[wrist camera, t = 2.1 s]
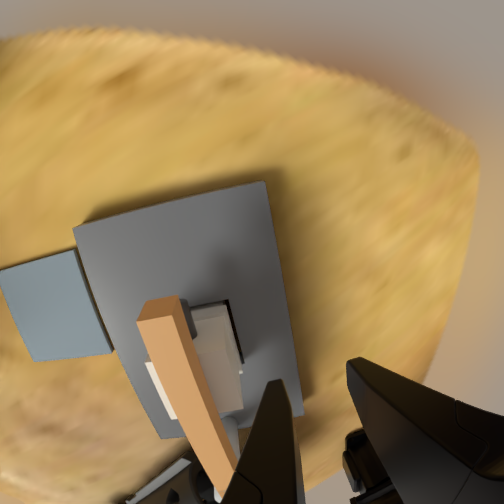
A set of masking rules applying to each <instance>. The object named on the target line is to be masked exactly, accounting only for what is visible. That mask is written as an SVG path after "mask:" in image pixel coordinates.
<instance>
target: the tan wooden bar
mask: <svg viewBox="0 0 504 504" xmlns="http://www.w3.org/2000/svg"><path fill="white" fill-rule="evenodd" d="M136 323H137V326H138V328H139V331H140V334H141V336H142V339H143V341H144V344H145V346H146V349H147V351H148V354H149V356H150V359H151V361H152V363H153V366H154V368H155V370H156V373H157V375H158V377H159V380H160V382H161V384H162V386H163V389H164V391H165V393H166V395H167V397H168V399H169V402H170V404H171V406H172V408H173V410H174V412H175V414H176V416H177V418H178V420H179V422H180V424H181V426H182V428H183V430H184V432H185V434H186V436H187V438H188V440H189V442H190V444H191V446H192V448H193V449H194V451H195V453H196V455H197V457H198V459H199V460H200V462H201V464H202V466H203V468H204V469H205V471H206V473H207V475H208V476H209V478H210V480H211V482H212V483H213V485H214V498H215V500H216V501H217V502H219V503H220V502H221V500H222V498H223V496H224V494H225V492H226V490H227V487H228V485H229V483H230V480H231V478H232V475H233V473H234V472H235V468H236V466H237V463H238V460H237V458H236V456H235V453H234V451H233V449H232V446H231V444H230V441H229V439H228V436H227V434H226V431H225V429H224V426H223V424H222V421H221V419H220V416H219V414H218V411H217V408H216V406H215V403H214V400H213V398H212V395H211V392H210V390H209V387H208V384H207V381H206V379H205V376H204V373H203V370H202V367H201V364H200V362H199V359H198V356H197V353H196V350H195V347H194V344H193V341H192V338H191V335H190V332H189V329H188V326H187V322H186V319H185V316H184V313H183V310H182V306H181V303H180V300H179V297H178V295H173V296H168V297H163V298H158V299H153V300H148V301H146V302H145V304H144V306H143V308H142V310H141V312H140V315H139V317H138V319H137V321H136Z"/></svg>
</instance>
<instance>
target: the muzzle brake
mask: <svg viewBox="0 0 504 504" xmlns="http://www.w3.org/2000/svg"><path fill="white" fill-rule="evenodd" d="M135 494H136V495H131V496H130V497H128V498H127V499H126V500H125V502H126V503H127V504H220V503H219V502H217V501H216V500H215V498H214V485H213V483H212V482H211V480H210V478H209V476H208V475H207V473H206V471H205V469H204V468H203V466H202V464H201V462H200V460H199V459H198V457H197V455H196V454H194V453H192V452H189V451H187V452H185V453H184V454H183V455H182V456H181V457H179V458H178V459H177V460H176V461H175V462H173V463H172V464H171V465H170V466H168V467H167V468H166V469H165V470H163V471H162V472H161V473H160V474H158V475H157V476H156V477H155V478H153V479H152V480H151V481H149V482H148V483H147V484H145V485H144V486H143V487H142V488H140V489H139V490H138V491H137V492H136V493H135ZM202 499H205V500H204V502H203V500H202Z"/></svg>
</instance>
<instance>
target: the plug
mask: <svg viewBox="0 0 504 504" xmlns="http://www.w3.org/2000/svg"><path fill="white" fill-rule="evenodd" d="M179 300H180V303H181V306H182V310H183V313H184V316H185V319H186V322H187V326H188V329H189V332H190V335H191V338H192V341H193V344H194V347H195V350H196V353H197V356H198V359H199V362H200V364H201V367H202V370H203V373H204V376H205V379H206V381H207V384H208V387H209V390H210V392H211V395H212V398H213V400H214V403H215V406H216V408H217V411H218V413H223V412H229V411H234V410H240V409H243V400H242V392H241V383H240V374H242V373H243V370H242V363H241V360H240V356H239V352H238V349H237V345H236V341H235V337H234V333H233V330H232V326H231V322H230V318H229V314H228V310H227V306H226V305H225V301H224V300H221V301H216V302H211V303H206V304H202V305H197V306H192V307H189V304H188V301H187V300H186V299H179ZM145 365H146V367H147V369H148V371H149V374H150V376H151V378H152V380H153V383H154V385H155V387H156V389H157V391H158V393H159V396H160V398H161V400H162V402H163V404H164V406H165V408H166V410H167V412H168V414H169V416H170V418H171V420H173V419H178V418H177V416H176V414H175V412H174V410H173V408H172V406H171V404H170V402H169V399H168V397H167V395H166V393H165V391H164V389H163V386H162V384H161V382H160V380H159V377H158V375H157V373H156V370H155V368H154V366H153V363H152V361H151V359H150V356H149V354H147V357H146V360H145Z"/></svg>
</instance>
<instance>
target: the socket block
mask: <svg viewBox="0 0 504 504" xmlns="http://www.w3.org/2000/svg"><path fill="white" fill-rule="evenodd" d="M72 229H73V233H74V236H75V240H76V243H77V246H78V250H79V253H80V256H81V259H82V263H83V266H84V269H85V272H86V275H87V278H88V281H89V284H90V286H91V289H92V292H93V295H94V298H95V300H96V303H97V306H98V308H99V311H100V313H101V316H102V319H103V321H104V324H105V326H106V329H107V331H108V333H109V336H110V338H111V341H112V343H113V345H114V347H115V350H116V352H117V354H118V357H119V359H120V361H121V363H122V365H123V367H124V370H125V372H126V374H127V376H128V378H129V380H130V382H131V384H132V386H133V388H134V390H135V392H136V394H137V396H138V398H139V400H140V402H141V404H142V406H143V408H144V410H145V411H146V413H147V415H148V417H149V419H150V421H151V422H152V424H153V426H154V428H155V430H156V431H157V433H158V435H159V437H160V438H161V439H169V438H179V437H187V436H186V434H185V432H184V430H183V428H182V426H181V424H180V422H179V420H178V419H173V420H171V418H170V416H169V414H168V412H167V410H166V408H165V406H164V404H163V402H162V400H161V398H160V396H159V393H158V391H157V389H156V387H155V385H154V383H153V380H152V378H151V376H150V374H149V371H148V369H147V367H146V365H145V360H146V357H147V354H148V351H147V349H146V346H145V344H144V341H143V339H142V336H141V334H140V331H139V328H138V326H137V323H136V321H137V319H138V317H139V315H140V312H141V310H142V308H143V306H144V304H145V302H146V301H148V300H153V299H158V298H163V297H168V296H173V295H178V297H179V299H186V300H187V301H188V304H189V307H192V306H197V305H202V304H206V303H211V302H216V301H221V300H226V299H229V303H230V307H231V311H232V315H233V319H234V323H235V327H236V331H237V335H238V339H239V342H240V346H241V350H242V352H239V356H240V360H241V363H242V370H243V373H242V374H240V383H241V392H242V400H243V409H240V410H234V411H229V412H223V413H218V414H219V416H220V419H221V421H222V424H223V426H224V429H225V431H226V434H227V436H228V439H229V441H230V444H231V446H232V449H233V451H234V453H235V456H236V458H237V460H239V458H240V447H239V437H238V429H242V428H248V427H251V426H252V423H253V421H254V418H255V415H256V412H257V410H258V407H259V404H260V401H261V398H262V396H263V393H264V390H265V387H266V384H267V382H268V381H271V380H276V379H282V380H283V381H284V384H285V387H286V390H287V393H288V396H289V399H290V403H291V406H292V411H293V417H298V416H302V415H305V413H304V406H303V399H302V393H301V386H300V380H299V373H298V367H297V361H296V354H295V348H294V342H293V336H292V330H291V324H290V318H289V312H288V306H287V300H286V294H285V288H284V282H283V277H282V271H281V265H280V260H279V254H278V249H277V243H276V238H275V232H274V227H273V221H272V216H271V211H270V205H269V200H268V195H267V190H266V184H265V181H263V180H259V181H254V182H249V183H244V184H239V185H234V186H229V187H225V188H220V189H215V190H211V191H206V192H202V193H198V194H193V195H189V196H185V197H181V198H176V199H172V200H168V201H164V202H160V203H156V204H152V205H148V206H144V207H140V208H137V209H133V210H129V211H125V212H122V213H118V214H114V215H111V216H107V217H104V218H100V219H96V220H93V221H90V222H86V223H83V224H80V225H78V226H76V227H74V228H72Z"/></svg>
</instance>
